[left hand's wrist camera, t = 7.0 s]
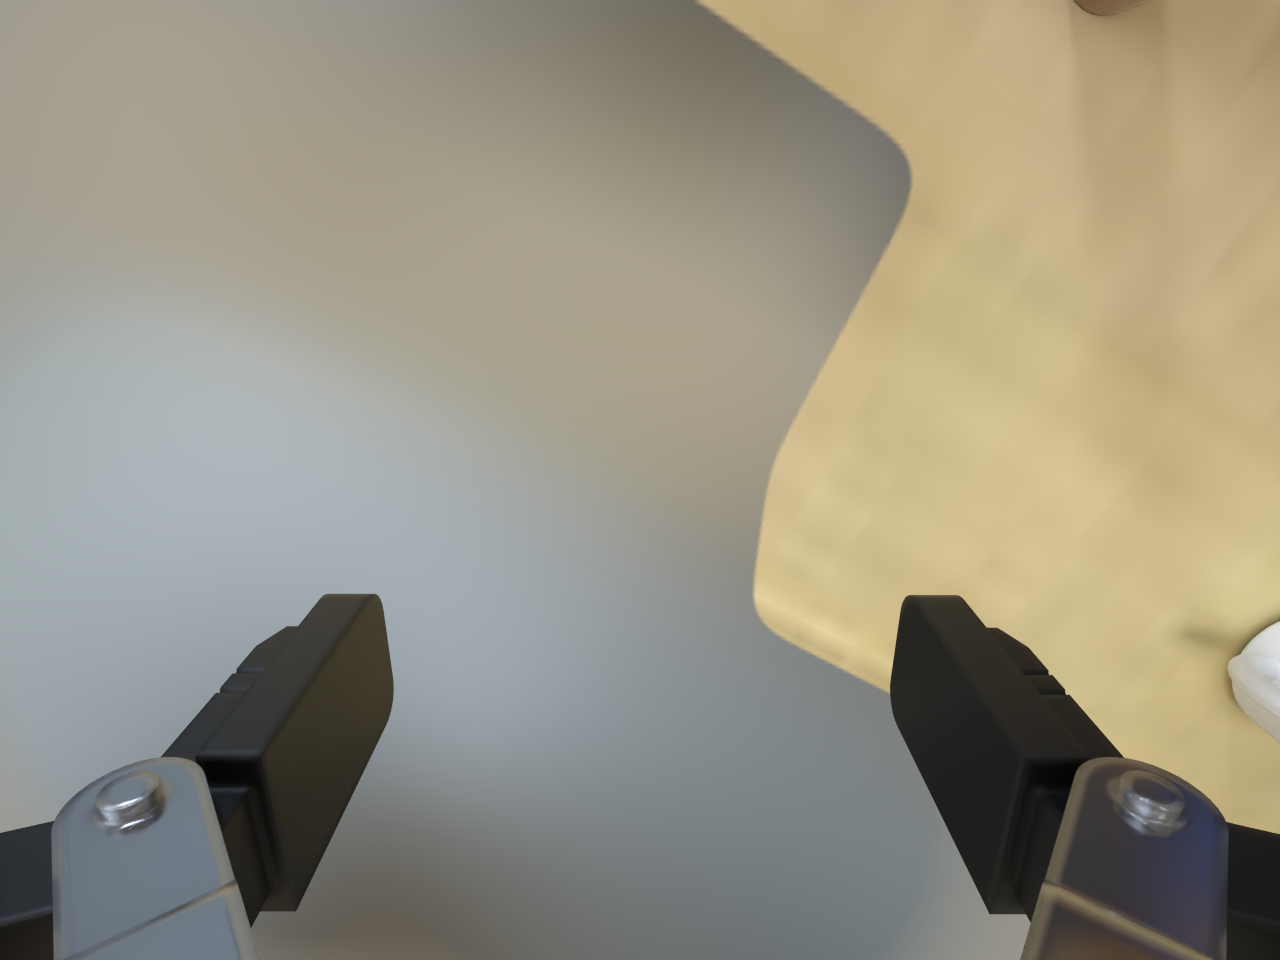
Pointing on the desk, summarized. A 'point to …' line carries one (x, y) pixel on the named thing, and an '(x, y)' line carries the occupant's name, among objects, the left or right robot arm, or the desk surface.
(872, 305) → the desk surface
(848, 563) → the desk surface
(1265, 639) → the mug
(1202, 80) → the desk surface
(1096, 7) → the brown cylindrical tube
